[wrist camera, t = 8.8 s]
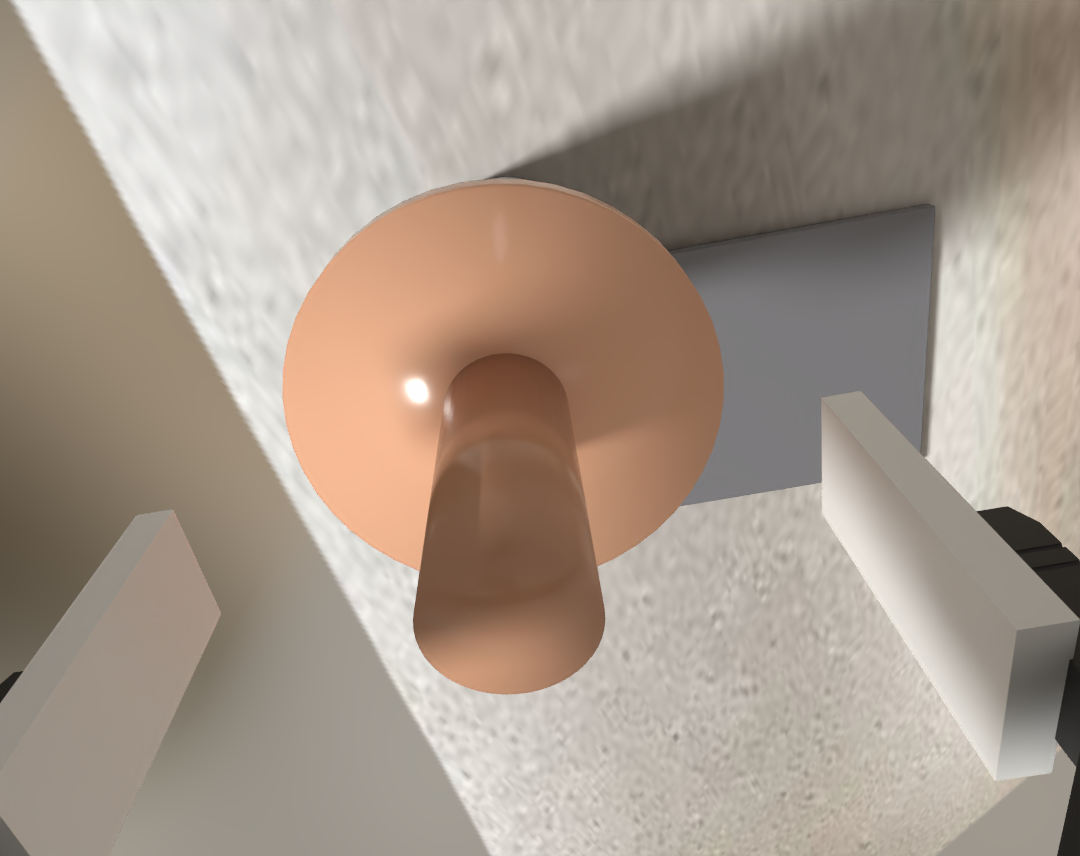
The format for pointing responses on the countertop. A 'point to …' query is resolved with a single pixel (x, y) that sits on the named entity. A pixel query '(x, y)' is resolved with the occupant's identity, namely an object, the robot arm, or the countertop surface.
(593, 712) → the countertop surface
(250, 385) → the countertop surface
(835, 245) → the mat
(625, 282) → the lid
